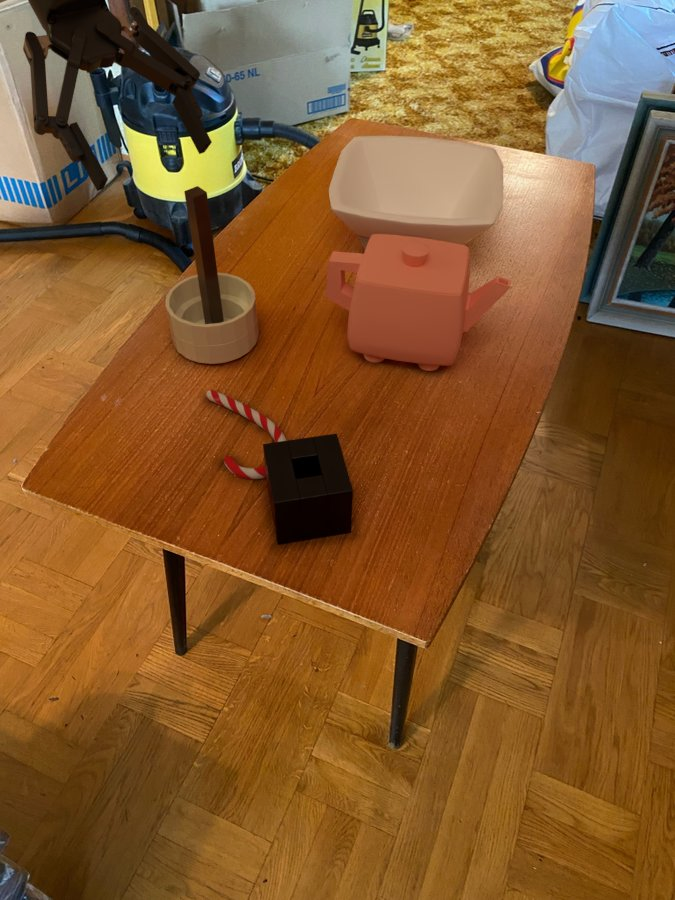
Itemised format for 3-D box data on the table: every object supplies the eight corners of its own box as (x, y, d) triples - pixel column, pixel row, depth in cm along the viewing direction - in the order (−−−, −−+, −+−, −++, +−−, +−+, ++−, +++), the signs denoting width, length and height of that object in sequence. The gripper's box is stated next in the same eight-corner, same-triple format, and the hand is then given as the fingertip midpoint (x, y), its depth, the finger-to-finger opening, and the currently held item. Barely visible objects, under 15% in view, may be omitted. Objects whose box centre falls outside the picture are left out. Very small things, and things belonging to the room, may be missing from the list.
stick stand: (277, 545, 72) (273, 502, 66) (267, 487, 77) (262, 443, 71) (351, 533, 73) (353, 490, 68) (336, 476, 78) (336, 433, 72)
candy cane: (231, 377, 86) (304, 450, 78) (232, 385, 87) (304, 458, 79) (174, 404, 83) (244, 484, 75) (176, 412, 84) (245, 492, 76)
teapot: (497, 325, 96) (519, 230, 85) (490, 388, 87) (513, 292, 77) (337, 302, 98) (339, 208, 88) (316, 361, 90) (315, 265, 80)
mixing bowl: (162, 362, 90) (153, 321, 85) (187, 309, 97) (180, 268, 92) (248, 371, 89) (243, 330, 84) (266, 317, 96) (263, 276, 91)
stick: (214, 341, 92) (193, 197, 77) (206, 334, 93) (183, 191, 78) (226, 335, 92) (207, 191, 78) (217, 329, 93) (197, 185, 78)
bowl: (320, 277, 102) (319, 212, 95) (346, 191, 119) (347, 129, 111) (489, 295, 100) (503, 230, 92) (492, 204, 116) (504, 142, 109)
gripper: (148, -18, 86) (233, 148, 90) (-57, 28, 75) (50, 215, 79) (164, -61, 80) (255, 119, 83) (-58, -18, 68) (59, 188, 72)
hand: (156, 166), depth 81 cm, fingers open, 13 cm apart
